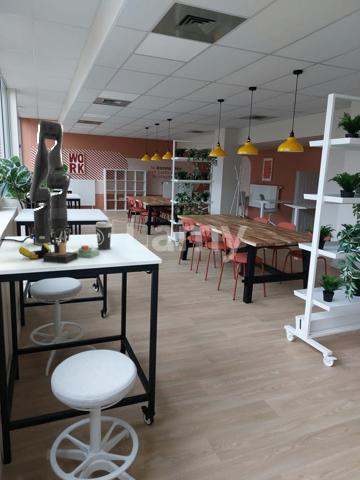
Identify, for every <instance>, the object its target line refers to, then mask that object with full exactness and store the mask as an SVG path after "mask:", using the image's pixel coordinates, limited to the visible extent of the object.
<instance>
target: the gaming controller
mask: <svg viewBox="0 0 360 480" xmlns="http://www.w3.org/2000/svg"><path fill="white" fill-rule="evenodd" d="M51 252H52V249H51V248H50V246H49V244H48V245H47V244H45V243H44V244H42V245H41V248H40V249H38V250H32V251H30V250H29V249H27V248H26V247H24V246H20V247H19V248H18V253H19V254H20V255H22V256H23V257H26V258H28V259H29V260H35V259H41V258H43V255H45V254H48V253H51Z"/></svg>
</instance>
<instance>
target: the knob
mask: <svg viewBox="0 0 360 480" xmlns="http://www.w3.org/2000/svg"><path fill="white" fill-rule="evenodd" d="M66 252H67V243H66V242H61V241H60V242H59V253H55V255H65V254H66Z"/></svg>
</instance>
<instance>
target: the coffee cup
mask: <svg viewBox="0 0 360 480" xmlns="http://www.w3.org/2000/svg"><path fill="white" fill-rule="evenodd" d="M94 227H95V231H96V240H97V249H98V250H101V251H106V250H110V249H111V240H112V238H111V237H112V228H113V224H112V222H111V221H98V222H96V223H95V225H94Z"/></svg>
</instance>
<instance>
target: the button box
mask: <svg viewBox="0 0 360 480" xmlns="http://www.w3.org/2000/svg"><path fill="white" fill-rule="evenodd" d="M72 252H73V253H77V258H86V259H87V258H88V259H92V258H94V257H96V256H98V255H99V254H100V251H99V250H93V249H92V247H89V249H86V250H83V249H81V247H79V248H78V250H75V251H72Z"/></svg>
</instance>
